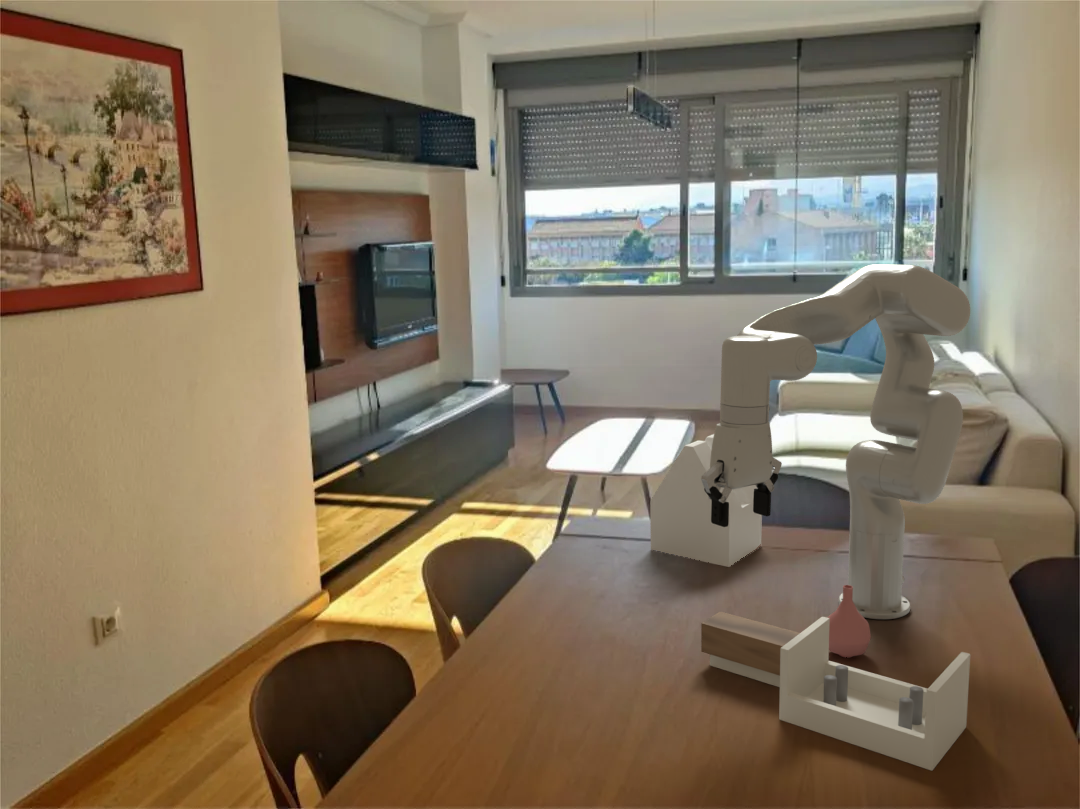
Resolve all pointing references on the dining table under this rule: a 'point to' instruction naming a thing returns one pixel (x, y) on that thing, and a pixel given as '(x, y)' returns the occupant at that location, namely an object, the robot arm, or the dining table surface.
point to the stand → (871, 702)
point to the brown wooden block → (744, 641)
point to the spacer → (745, 670)
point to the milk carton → (701, 513)
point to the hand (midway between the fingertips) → (740, 519)
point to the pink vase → (848, 628)
